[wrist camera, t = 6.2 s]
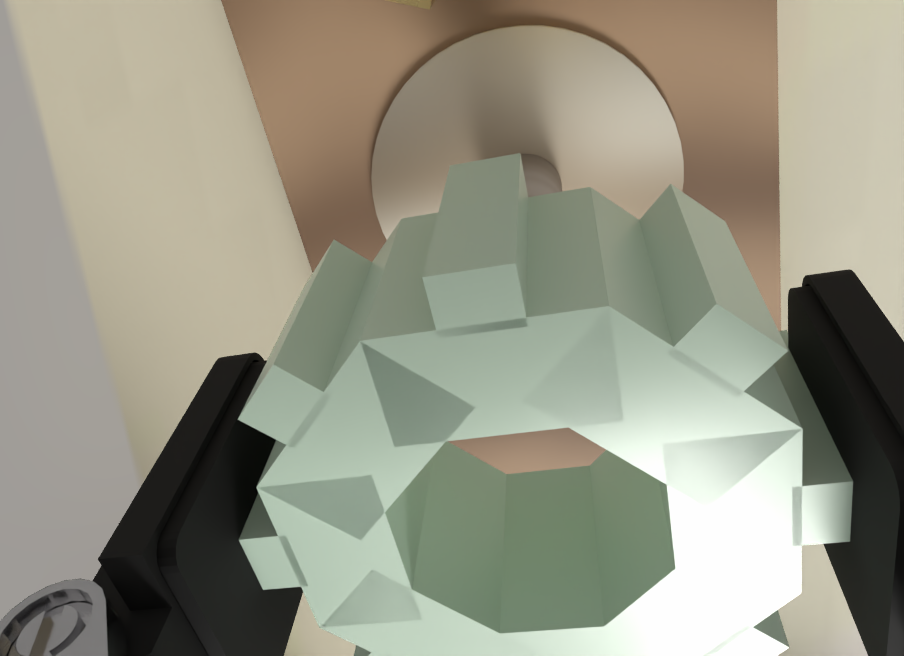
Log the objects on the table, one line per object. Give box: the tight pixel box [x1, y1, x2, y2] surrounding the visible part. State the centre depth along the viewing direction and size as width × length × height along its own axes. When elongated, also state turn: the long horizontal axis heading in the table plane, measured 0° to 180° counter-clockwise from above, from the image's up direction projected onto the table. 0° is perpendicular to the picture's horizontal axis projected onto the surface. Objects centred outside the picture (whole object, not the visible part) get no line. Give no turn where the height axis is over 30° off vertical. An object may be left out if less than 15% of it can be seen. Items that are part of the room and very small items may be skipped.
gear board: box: [221, 0, 781, 474], centre depth 18 cm, size 28×12×9 cm, turn 12°
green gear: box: [238, 153, 853, 656], centre depth 11 cm, size 7×7×3 cm
